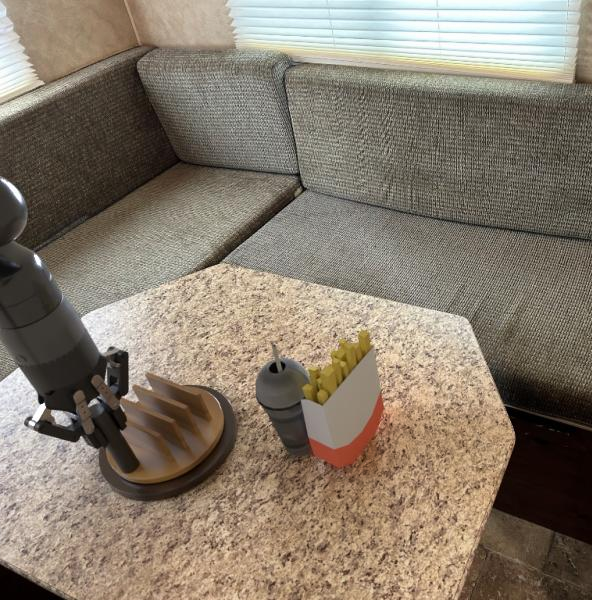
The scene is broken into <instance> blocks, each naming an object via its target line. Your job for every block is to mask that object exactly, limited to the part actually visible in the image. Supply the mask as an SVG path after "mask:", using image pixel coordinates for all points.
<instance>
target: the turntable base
mask: <svg viewBox="0 0 592 600" xmlns="http://www.w3.org/2000/svg"><path fill="white" fill-rule="evenodd" d="M181 385H182V386H184V387H195V388H199V389H202V390H205V391H207V392H209V393H210V394H211V395H213V396H214V397H215V398H216V399H217V401H218V402H219V404H220V406H221V409H222V411H223V415H224V426H223V431H222V434H221V436H220V439H219V441H218V442H217V444H216V446H215V447H214V449H213V450H212V451H211V453H210V454H209V455H208V456H207V457H206V458H205V459H204V460H203V461H202V462H200V463H199V464H198V465H197V466H195V467H194V468H192V469H191V470H189V471H187V472H186V473H184V474H182V475H180V476H178V477H175V478H173V479H170V480H167V481H163V482H158V483H146V484H144V483H136V482H131V481H129V480H126V479H124V478H122V477H121V476H119V475H118V474H117V473H116V472H115V471H114V469H113V468H112V467H111V465H110V464H109V461H108V459H107V454H106V448H105V449H101V448H99V450H98V467H99V471H100V474H101V475H102V477H103V479H104V481H105V482H106V483H107V485H108V486H109V487H110V488H111V490H113V491H114V492H115V494H117V495H119V496H121V497H123V498H126V499H129V500H132V501H137V502H157V501H163V500H168V499H171V498H175V497H178V496H180V495H182V494H185V493H187V492H190V491H191V490H193V489H195V488H196V487H198V486H200V485H202V484H203V483H204V482H205V481H207V480H208V479H210V478H211V477H212V476H213V475H214V474H215V473H216V472H217V471H218V470H219V469H220V468H221V467H222V465H223V464H224V463H225V462H226V461H227V459H228V458H229V456H230V454H231V452H232V450H233V449H234V446H235V444H236V441H237V436H238V432H239V431H238V429H239V424H238V423H239V422H238V418H237V414H236V412H235V409H234V407H233V405H232V403H231V402H230V400H229V399H228V397H226V396H225V395H224V394H223V393H222V392H221V391H219V390H217V389H215V388H212V387H210V386H205V385H201V384H181ZM137 402H138V401H136V402H135V403H137ZM123 412H125V411H124V410H123Z"/></svg>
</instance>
